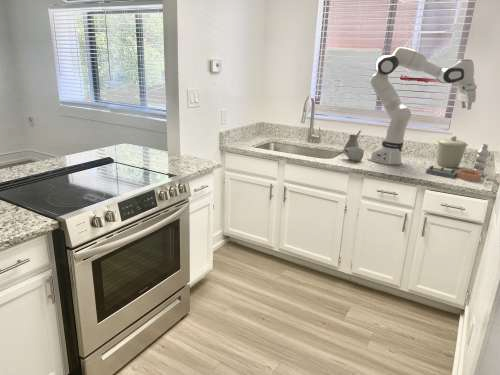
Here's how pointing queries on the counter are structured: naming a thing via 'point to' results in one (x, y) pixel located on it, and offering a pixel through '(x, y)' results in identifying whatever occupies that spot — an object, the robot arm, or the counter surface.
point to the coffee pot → (352, 142)
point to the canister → (450, 152)
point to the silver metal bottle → (481, 159)
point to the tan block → (437, 168)
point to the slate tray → (441, 172)
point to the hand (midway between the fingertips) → (466, 108)
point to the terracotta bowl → (469, 175)
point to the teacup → (354, 153)
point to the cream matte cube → (447, 170)
